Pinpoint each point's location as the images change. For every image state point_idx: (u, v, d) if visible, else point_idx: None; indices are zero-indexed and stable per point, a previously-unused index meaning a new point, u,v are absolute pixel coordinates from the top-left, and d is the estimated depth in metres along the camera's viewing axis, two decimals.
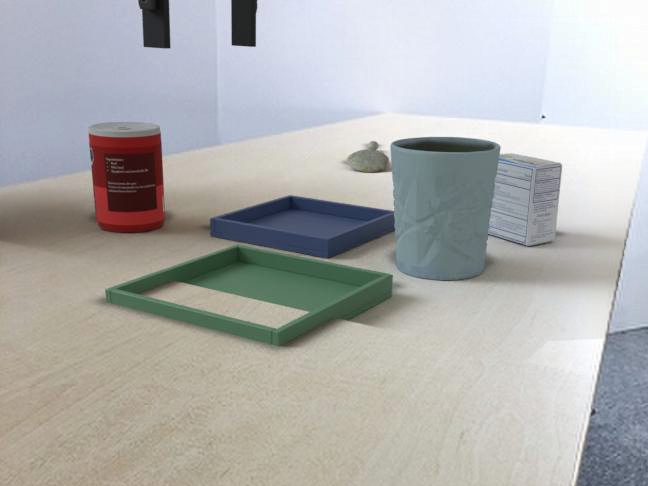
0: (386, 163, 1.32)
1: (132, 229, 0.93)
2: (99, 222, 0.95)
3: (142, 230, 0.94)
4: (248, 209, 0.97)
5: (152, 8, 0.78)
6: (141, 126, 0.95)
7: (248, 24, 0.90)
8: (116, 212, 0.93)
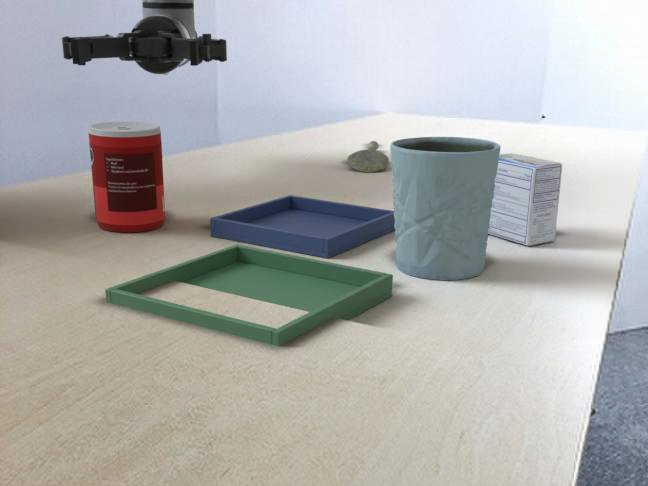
0: (386, 163, 1.32)
1: (132, 229, 0.93)
2: (99, 222, 0.95)
3: (142, 230, 0.94)
4: (248, 209, 0.97)
5: (206, 58, 1.03)
6: (141, 126, 0.95)
7: (83, 58, 1.01)
8: (116, 212, 0.93)
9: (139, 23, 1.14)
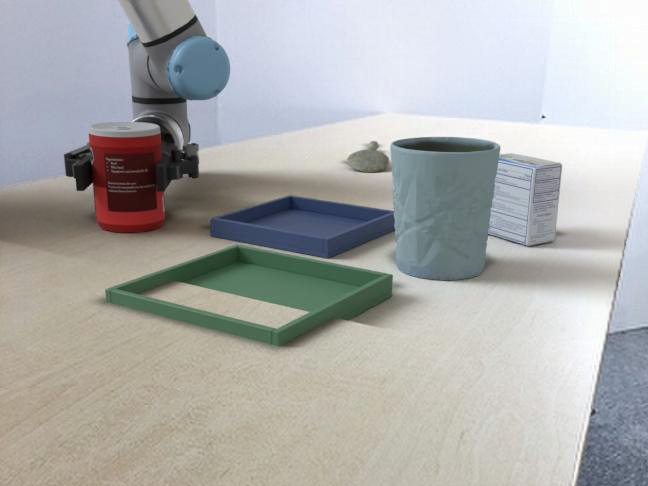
0: (386, 163, 1.32)
1: (132, 229, 0.93)
2: (99, 222, 0.95)
3: (142, 230, 0.94)
4: (248, 209, 0.97)
5: (175, 179, 0.94)
6: (141, 126, 0.95)
7: (87, 182, 0.92)
8: (116, 212, 0.93)
9: None
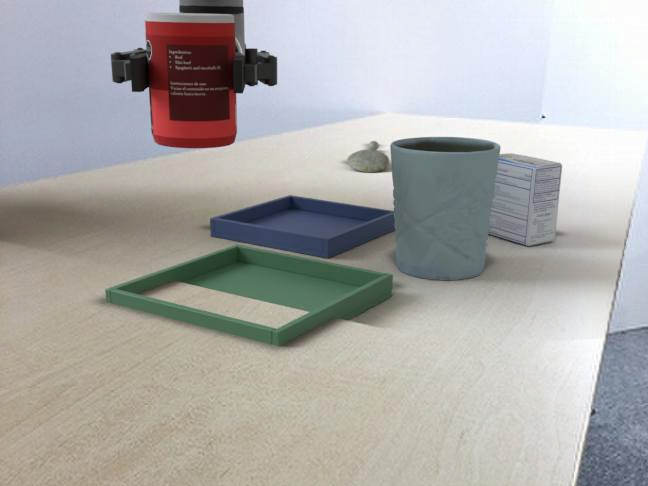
0: (386, 163, 1.32)
1: (199, 144, 0.74)
2: (157, 136, 0.76)
3: (211, 146, 0.75)
4: (248, 209, 0.97)
5: (253, 82, 0.75)
6: None
7: (144, 84, 0.73)
8: (180, 121, 0.74)
9: None
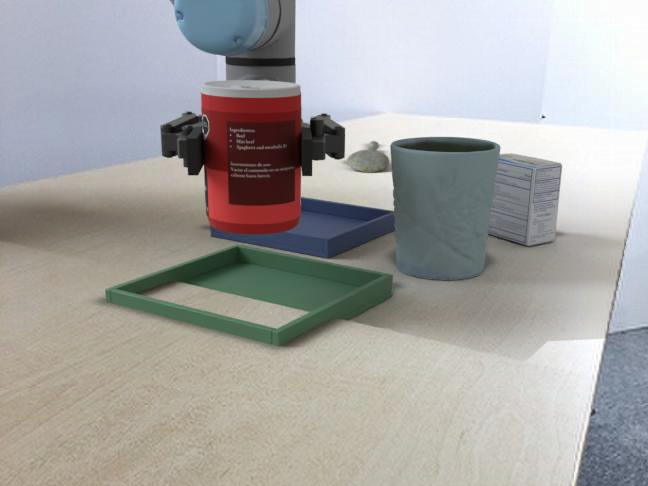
0: (386, 163, 1.32)
1: (261, 230, 0.66)
2: (213, 220, 0.67)
3: (274, 231, 0.67)
4: None
5: (321, 159, 0.67)
6: (270, 86, 0.68)
7: (200, 164, 0.65)
8: (241, 206, 0.65)
9: None
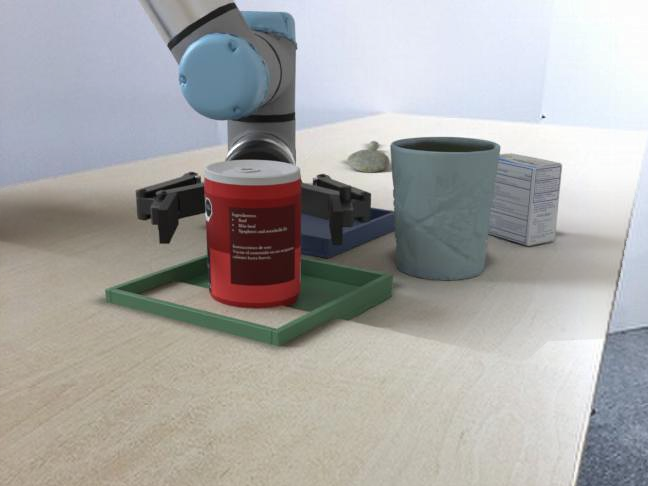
0: (386, 163, 1.32)
1: None
2: (215, 297, 0.70)
3: None
4: None
5: (349, 226, 0.71)
6: (271, 166, 0.70)
7: (172, 231, 0.69)
8: (243, 286, 0.68)
9: (235, 155, 0.82)
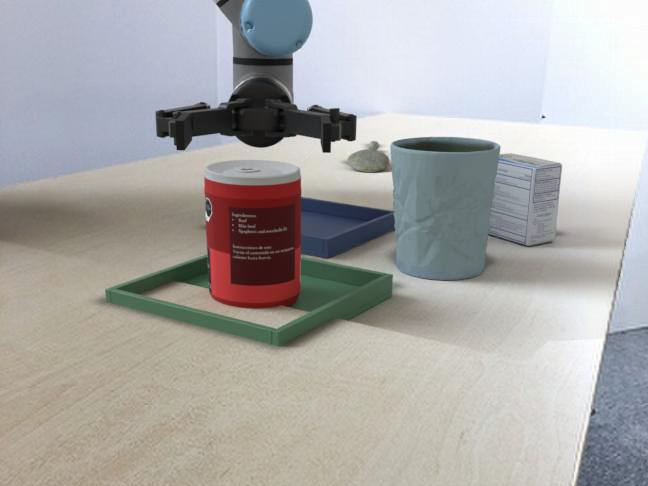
0: (386, 163, 1.32)
1: None
2: (215, 297, 0.70)
3: None
4: None
5: (337, 140, 0.83)
6: (271, 166, 0.70)
7: (186, 142, 0.81)
8: (243, 286, 0.68)
9: (240, 88, 0.94)
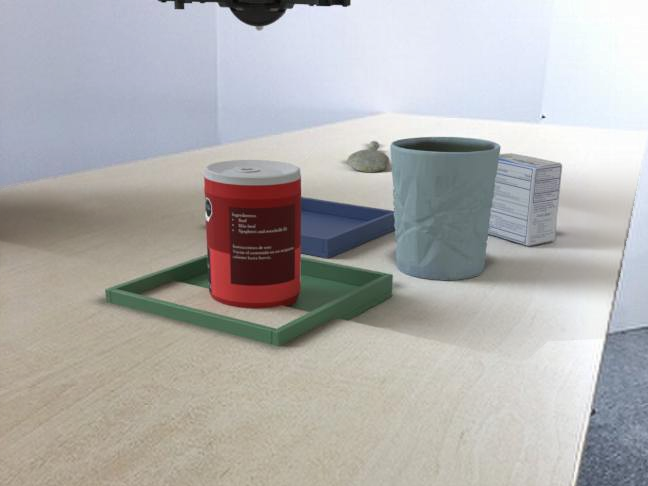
0: (386, 163, 1.32)
1: None
2: (215, 297, 0.70)
3: None
4: None
5: None
6: (271, 166, 0.70)
7: None
8: (243, 286, 0.68)
9: None
